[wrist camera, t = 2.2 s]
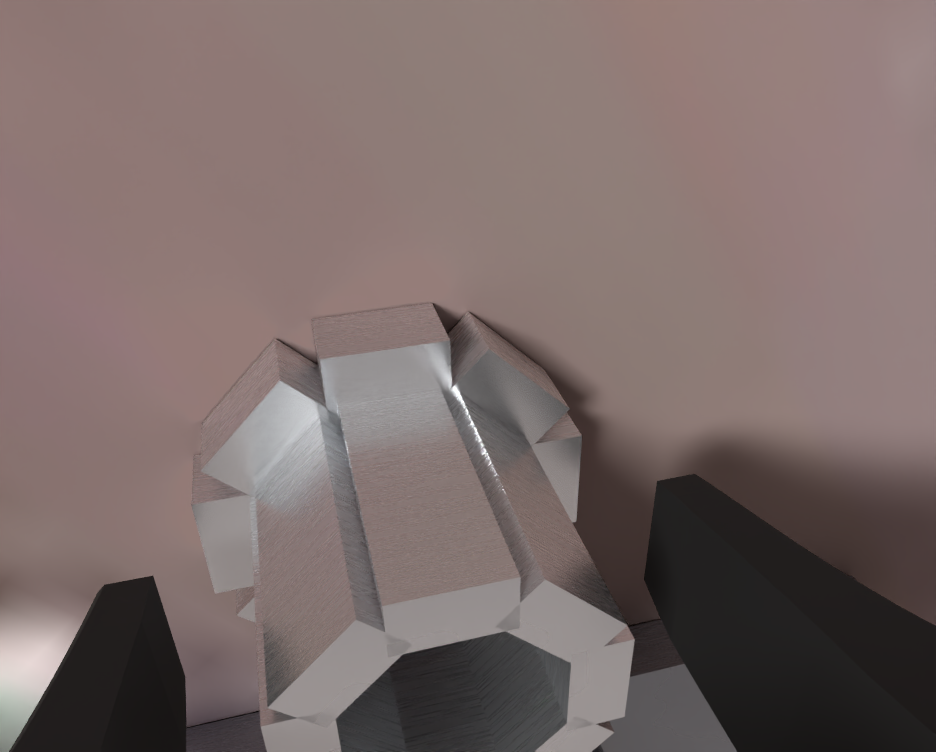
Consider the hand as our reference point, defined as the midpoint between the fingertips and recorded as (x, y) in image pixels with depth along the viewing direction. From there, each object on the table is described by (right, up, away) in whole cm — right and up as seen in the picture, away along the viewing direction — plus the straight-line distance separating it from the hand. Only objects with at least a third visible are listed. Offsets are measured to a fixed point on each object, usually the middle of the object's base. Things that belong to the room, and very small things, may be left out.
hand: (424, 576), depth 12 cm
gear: (-1, +1, +2) cm, 3 cm away
